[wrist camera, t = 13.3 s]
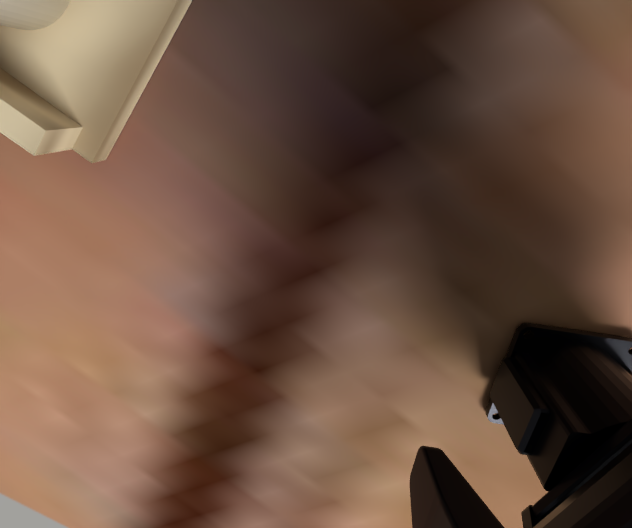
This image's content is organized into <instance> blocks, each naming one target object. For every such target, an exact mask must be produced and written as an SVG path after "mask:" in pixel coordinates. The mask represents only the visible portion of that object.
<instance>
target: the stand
mask: <svg viewBox="0 0 632 528" xmlns="http://www.w3.org/2000/svg"><path fill="white" fill-rule="evenodd" d="M191 2H192V0H70V2H69V5H68V7H67V8H66V10H65V12H64V13H63V14H62V16H61V17H60V18H59V19H58V20H56V21H55V22H54V23H53V24H51V25H49V26H47V27H44V28H42V29H37V30H22V29H16V28H11V27H7V26H2V25H0V132H1V133H2V134H3V135H5V136H6V137H8V138H9V139H11V140H12V141H14V142H15V143H16V144H18V145H19V146H21V147H22V148H24V149H25V150H27V151H28V152H29V153H31V154H32V155H34V156H36V155H42V154H47V153H53V152H59V151H65V150H70V149H72V150H74V151H75V152H77V153H78V154H79V155H81V156H82V157H84V158H85V159H86V160H88V161H89V162H91V163H94V162H98V161H103V160H106V159H107V157H108V155H109V153H110V151H111V150H112V148H113V146H114V144H115V142H116V140H117V138H118V137H119V135H120V133H121V131H122V129H123V127H124V126H125V124H126V122H127V120H128V118H129V116H130V114H131V113H132V111H133V109H134V107H135V105H136V103H137V102H138V100H139V98H140V96H141V94H142V92H143V90H144V89H145V87H146V85H147V83H148V81H149V79H150V78H151V76H152V74H153V72H154V70H155V68H156V66H157V65H158V63H159V61H160V59H161V57H162V55H163V54H164V52H165V50H166V48H167V46H168V44H169V43H170V41H171V39H172V37H173V35H174V33H175V31H176V30H177V28H178V26H179V24H180V22H181V20H182V19H183V17H184V15H185V13H186V11H187V9H188V7H189V6H190V4H191Z"/></svg>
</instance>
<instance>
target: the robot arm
mask: <svg viewBox="0 0 632 528" xmlns="http://www.w3.org/2000/svg"><path fill="white" fill-rule="evenodd" d="M527 331H530V333H529V334H527V335H524V333H525V332H527ZM631 347H632V338H627V337H620V336H613V335H606V334H600V333H593V332H586V331H580V330H573V329H566V328H560V327H553V326H546V325H539V324H533V323H523V324H521V325H520V326H518V328H517V329H516V332H515V334H514V337H513V339H512V342H511V345H510V347H509V350H508V353H507V355H506V357H505V358H504V359H503V360H502V362H501V365H500V367H499V370H498V373H497V375H496V378H495V381H494V383H493V386H492V389H491V391H490V397H491V398H490V400H489V403H488V406H487V408H486V415H487V417H488V419H489V421H490V422H493V423H497V424H504V425H505V427H506V429H507V431H508V433H509V435H510V437H511V439H512V441H513V443H514V445H515V447H516V449H517V450H518V452H519V453H520V454H524V455H527V457H528V459H529V461H530V462H531V464H532V466H533V468H534V470H535V472H536V474H537V476H538V478H539V480H540V482H541V484H542V486H543V487H544V489H545V490H546V491H549V492H548V493H547V494H545V495H544V496H543V497H542V498H541V499H540V500H539V501H538V502H536V503H535V504H534V505H533V506H532V505H529V506H528V507H527V508H526V509H525V510H523V511H522V513H521V514H522V521H523V528H632V349H631V350H629V349H630V348H631ZM495 413H498V414H496V415H493V414H495ZM410 497H411V512H412V526H413V528H504V527H503V526H502V524H501V523H500V522H499V521H498V519H497V518H496V517H495V516H494V514H493V513H492V512H491V511H490V509H489V508H488V507H487V506H486V504H485V503H484V502H483V501H482V499H481V498H480V497H479V496H478V494H477V493H476V492H475V491H474V489H473V488H472V487H471V486H470V484H469V483H468V482H467V481H466V480H465V478H464V477H463V476H462V475H461V473H460V472H459V471H458V470H457V468H456V467H455V466H454V465H453V463H452V462H451V461H450V460H449V458H448V457H447V456H446V455H445V453H444V452H443V451H442V450H441V449H439V448H434V447H427V446H421V447H420V448H419V450H418V452H417V455H416V459H415V462H414V465H413V468H412V471H411V475H410Z"/></svg>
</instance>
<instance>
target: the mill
mask: <svg viewBox="0 0 632 528" xmlns="http://www.w3.org/2000/svg"><path fill="white" fill-rule="evenodd" d="M69 2H70V0H0V25H2V26H7V27H11V28H16V29H22V30H37V29H42V28H44V27H47V26H49V25H51V24H53V23H54V22H55V21H56V20H58V19H59V18H60V17H61V16H62V14H63V13H64V12H65V10H66V8H67V7H68V5H69Z"/></svg>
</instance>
